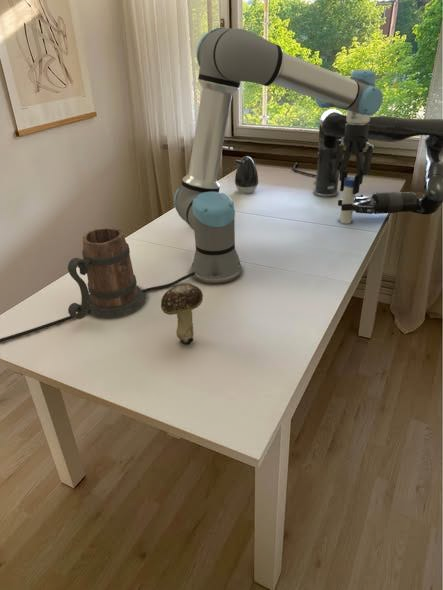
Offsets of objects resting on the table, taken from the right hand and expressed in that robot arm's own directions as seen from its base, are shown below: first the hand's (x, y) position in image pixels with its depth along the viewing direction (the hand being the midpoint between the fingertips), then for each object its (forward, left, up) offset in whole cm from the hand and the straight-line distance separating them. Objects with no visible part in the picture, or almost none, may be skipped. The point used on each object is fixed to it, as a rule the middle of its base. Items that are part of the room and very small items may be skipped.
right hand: (340, 205), depth 161 cm
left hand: (0, +3, +5) cm, 6 cm away
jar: (0, +3, -7) cm, 7 cm away
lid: (0, +3, +9) cm, 10 cm away
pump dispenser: (-37, -31, -7) cm, 49 cm away
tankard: (+50, -76, -7) cm, 91 cm away
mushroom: (+67, -54, -7) cm, 87 cm away
